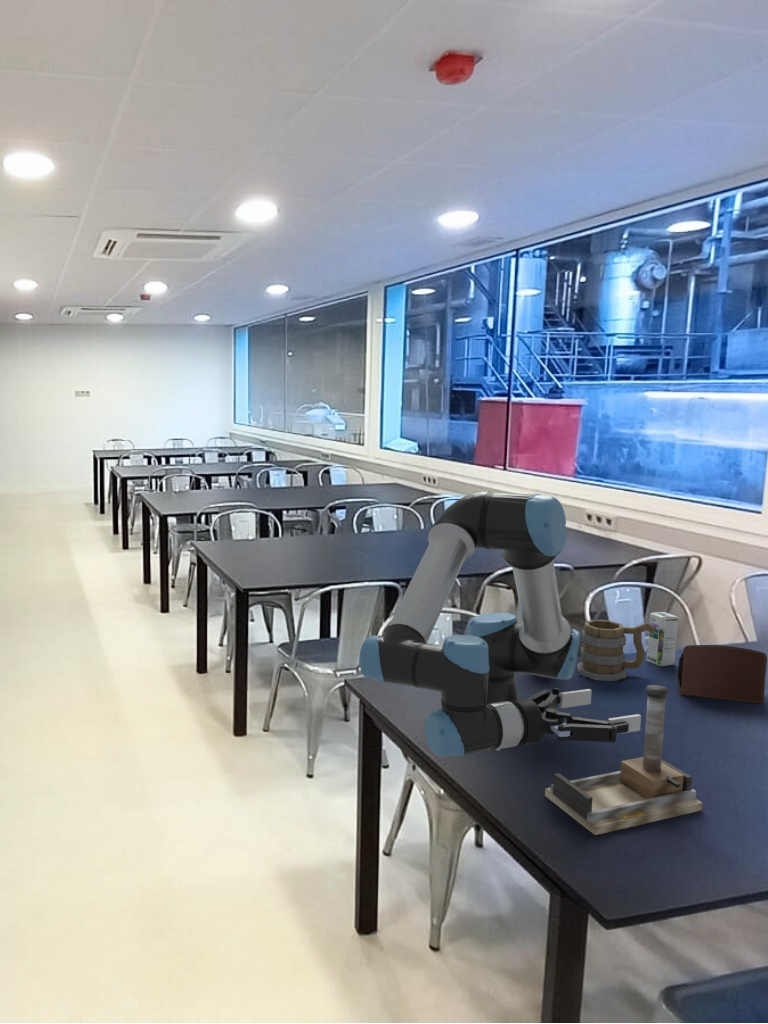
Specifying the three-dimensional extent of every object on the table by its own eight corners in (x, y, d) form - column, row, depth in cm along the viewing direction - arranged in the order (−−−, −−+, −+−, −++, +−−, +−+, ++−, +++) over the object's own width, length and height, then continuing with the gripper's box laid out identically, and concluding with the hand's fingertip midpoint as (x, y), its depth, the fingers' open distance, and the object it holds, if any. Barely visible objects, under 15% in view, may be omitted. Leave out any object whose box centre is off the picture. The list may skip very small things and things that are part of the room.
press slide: (662, 808, 145) (669, 703, 142) (619, 780, 155) (626, 682, 152) (692, 801, 147) (699, 698, 145) (648, 774, 158) (655, 678, 155)
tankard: (580, 679, 218) (583, 625, 216) (575, 665, 230) (578, 613, 228) (656, 684, 215) (660, 630, 213) (647, 669, 228) (651, 618, 226)
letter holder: (763, 705, 202) (768, 650, 201) (680, 695, 208) (683, 642, 206) (756, 691, 212) (761, 639, 210) (677, 683, 217) (680, 632, 215)
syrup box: (645, 660, 236) (648, 612, 234) (662, 659, 238) (665, 611, 236) (658, 666, 230) (662, 617, 228) (675, 664, 232) (679, 616, 230)
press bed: (595, 835, 138) (596, 805, 138) (544, 795, 152) (546, 768, 151) (701, 810, 148) (703, 782, 147) (645, 775, 162) (647, 749, 161)
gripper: (475, 718, 149) (570, 705, 158) (554, 775, 126) (660, 756, 135) (477, 679, 148) (572, 668, 157) (557, 729, 126) (663, 712, 134)
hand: (613, 708), depth 146 cm, fingers open, 13 cm apart
